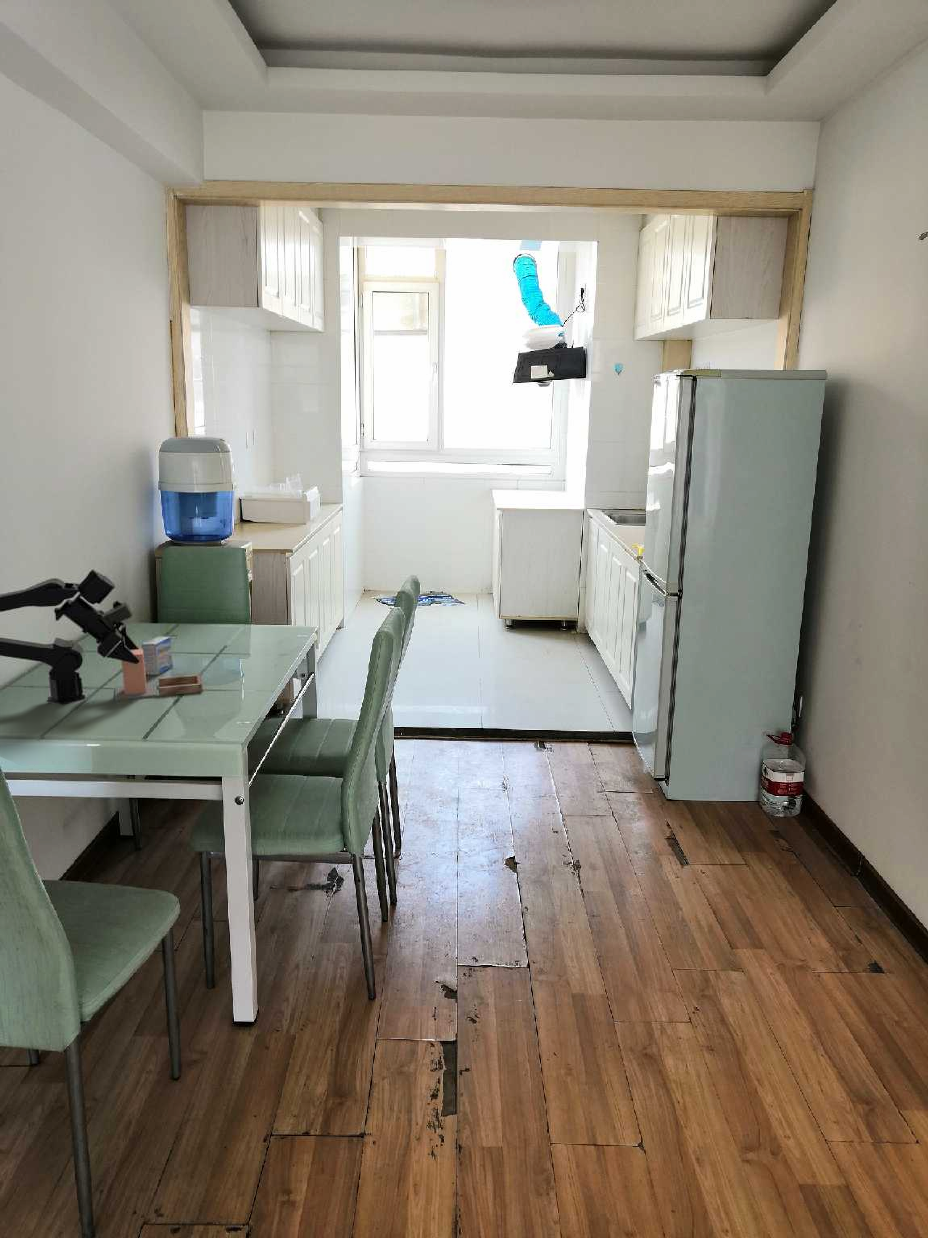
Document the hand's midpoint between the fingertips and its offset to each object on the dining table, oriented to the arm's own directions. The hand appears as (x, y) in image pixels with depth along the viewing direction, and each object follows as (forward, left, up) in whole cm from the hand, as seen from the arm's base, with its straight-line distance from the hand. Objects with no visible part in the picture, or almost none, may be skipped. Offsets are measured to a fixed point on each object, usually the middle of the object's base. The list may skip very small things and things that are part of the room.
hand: (138, 657), depth 233 cm
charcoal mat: (-1, +1, -9) cm, 9 cm away
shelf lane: (+8, -6, -9) cm, 13 cm away
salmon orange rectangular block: (-1, +1, -9) cm, 9 cm away
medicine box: (+14, +12, -9) cm, 21 cm away
